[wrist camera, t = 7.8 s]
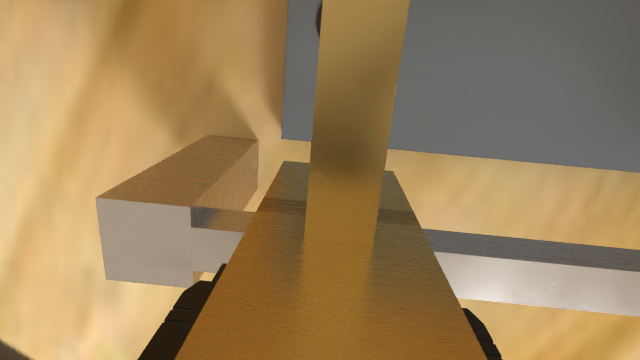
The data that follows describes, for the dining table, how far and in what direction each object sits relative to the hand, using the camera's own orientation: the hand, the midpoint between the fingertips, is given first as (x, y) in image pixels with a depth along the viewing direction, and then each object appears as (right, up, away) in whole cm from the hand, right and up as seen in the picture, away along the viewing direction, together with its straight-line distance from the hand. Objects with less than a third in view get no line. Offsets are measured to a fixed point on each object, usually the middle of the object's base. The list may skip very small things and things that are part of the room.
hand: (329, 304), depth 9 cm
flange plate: (+11, +9, +9) cm, 17 cm away
